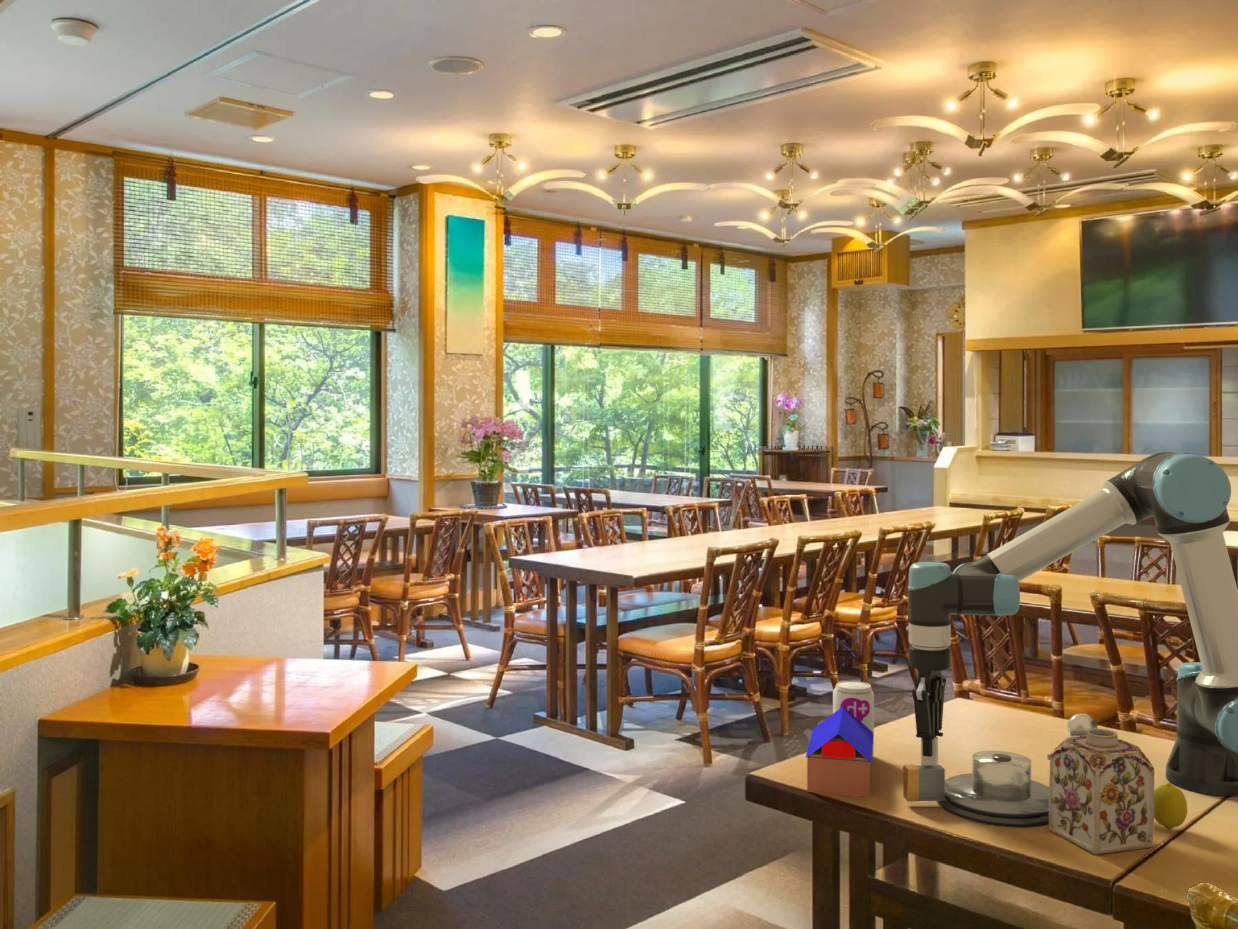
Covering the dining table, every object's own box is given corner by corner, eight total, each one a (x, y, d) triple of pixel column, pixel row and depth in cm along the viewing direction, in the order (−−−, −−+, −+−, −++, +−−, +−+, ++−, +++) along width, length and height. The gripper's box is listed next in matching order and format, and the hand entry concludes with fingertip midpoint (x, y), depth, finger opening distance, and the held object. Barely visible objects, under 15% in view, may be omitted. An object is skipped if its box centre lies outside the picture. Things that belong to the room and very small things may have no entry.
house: (873, 765, 218) (873, 708, 217) (871, 798, 198) (871, 735, 198) (813, 760, 221) (813, 704, 220) (805, 793, 201) (805, 731, 201)
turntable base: (1084, 804, 195) (1084, 798, 195) (1034, 837, 179) (1034, 831, 179) (969, 776, 210) (969, 771, 210) (913, 805, 194) (913, 799, 194)
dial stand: (1091, 797, 198) (1092, 711, 197) (1099, 805, 194) (1100, 717, 193) (1043, 796, 198) (1045, 710, 198) (1051, 804, 194) (1052, 716, 194)
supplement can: (873, 764, 217) (874, 690, 217) (832, 761, 219) (832, 688, 219) (873, 752, 225) (873, 681, 225) (832, 750, 227) (833, 679, 227)
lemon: (1143, 824, 185) (1144, 778, 184) (1174, 823, 185) (1175, 777, 185) (1162, 837, 179) (1163, 789, 179) (1194, 835, 180) (1194, 788, 179)
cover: (1016, 782, 199) (1017, 748, 199) (1040, 801, 189) (1041, 765, 189) (963, 783, 198) (964, 749, 198) (985, 802, 189) (985, 766, 188)
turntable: (1030, 778, 205) (1030, 748, 205) (1079, 816, 185) (1080, 783, 185) (889, 780, 204) (889, 750, 203) (923, 819, 184) (923, 785, 183)
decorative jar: (1155, 848, 174) (1157, 738, 174) (1095, 857, 171) (1097, 745, 170) (1103, 822, 186) (1104, 719, 185) (1045, 830, 182) (1047, 724, 182)
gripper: (920, 638, 207) (920, 759, 208) (897, 650, 196) (898, 778, 197) (960, 642, 203) (960, 765, 204) (938, 654, 192) (938, 785, 193)
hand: (929, 771), depth 201 cm, fingers closed
